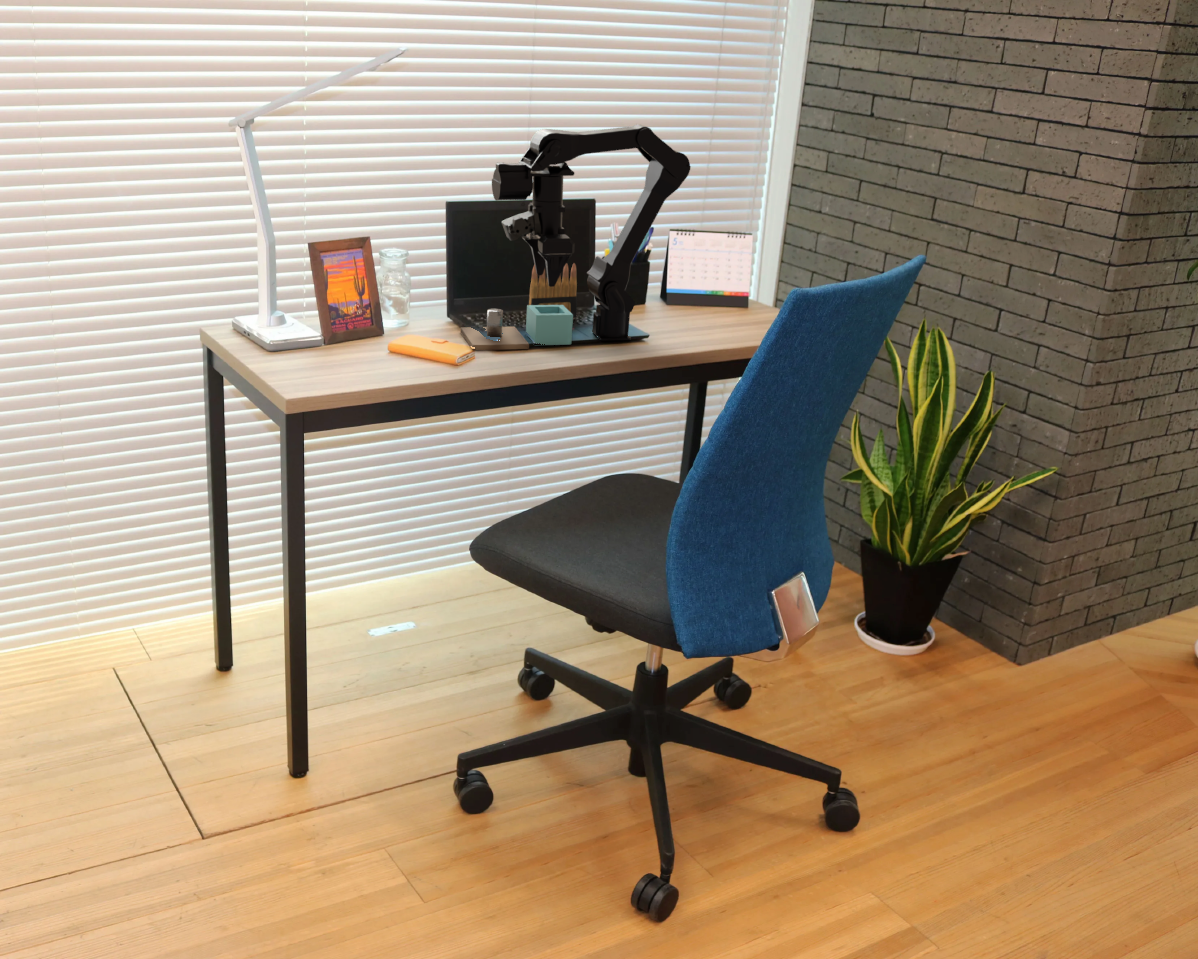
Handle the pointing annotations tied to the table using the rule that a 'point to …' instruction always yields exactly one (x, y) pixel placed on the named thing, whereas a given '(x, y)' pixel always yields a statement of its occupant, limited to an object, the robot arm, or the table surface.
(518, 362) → the table surface
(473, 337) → the post base
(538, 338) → the collar
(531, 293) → the ammunition clip
